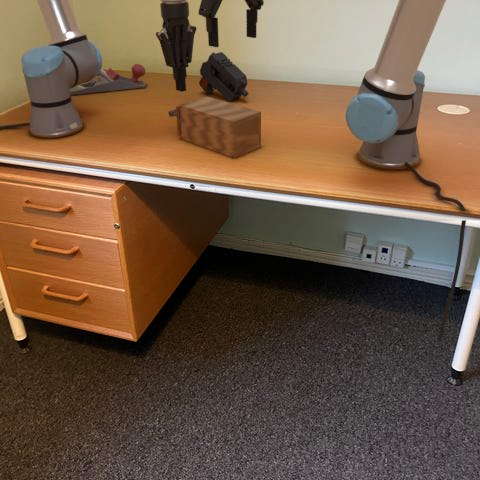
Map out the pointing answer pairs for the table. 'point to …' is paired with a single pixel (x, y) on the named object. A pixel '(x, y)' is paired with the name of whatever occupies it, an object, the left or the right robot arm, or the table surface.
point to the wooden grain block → (221, 126)
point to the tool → (222, 77)
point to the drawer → (177, 114)
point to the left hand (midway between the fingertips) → (181, 90)
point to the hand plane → (111, 81)
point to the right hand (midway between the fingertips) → (233, 41)
